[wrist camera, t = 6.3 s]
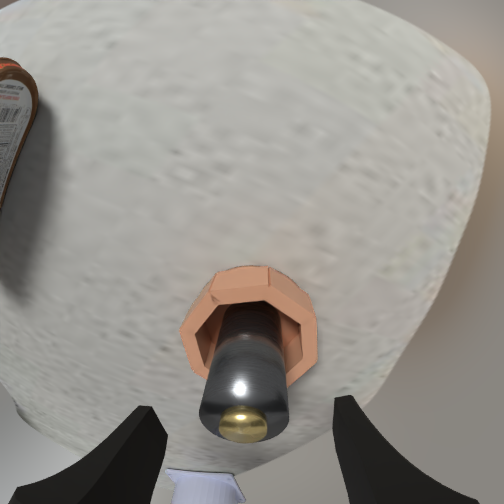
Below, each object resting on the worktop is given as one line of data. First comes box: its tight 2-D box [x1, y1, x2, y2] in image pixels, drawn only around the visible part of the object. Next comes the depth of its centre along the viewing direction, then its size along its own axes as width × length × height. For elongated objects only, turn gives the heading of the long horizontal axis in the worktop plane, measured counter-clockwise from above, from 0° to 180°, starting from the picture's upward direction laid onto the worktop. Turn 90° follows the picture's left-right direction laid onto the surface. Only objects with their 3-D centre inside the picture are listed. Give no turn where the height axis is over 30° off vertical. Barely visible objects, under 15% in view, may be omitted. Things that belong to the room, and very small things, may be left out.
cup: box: [179, 265, 318, 387], centre depth 16 cm, size 7×7×3 cm
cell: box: [199, 300, 289, 443], centre depth 13 cm, size 4×4×8 cm
